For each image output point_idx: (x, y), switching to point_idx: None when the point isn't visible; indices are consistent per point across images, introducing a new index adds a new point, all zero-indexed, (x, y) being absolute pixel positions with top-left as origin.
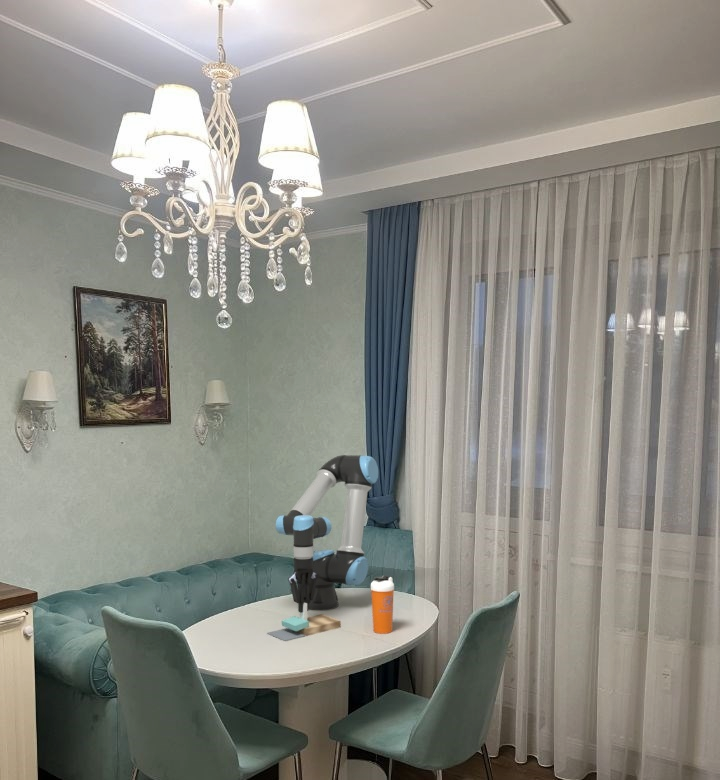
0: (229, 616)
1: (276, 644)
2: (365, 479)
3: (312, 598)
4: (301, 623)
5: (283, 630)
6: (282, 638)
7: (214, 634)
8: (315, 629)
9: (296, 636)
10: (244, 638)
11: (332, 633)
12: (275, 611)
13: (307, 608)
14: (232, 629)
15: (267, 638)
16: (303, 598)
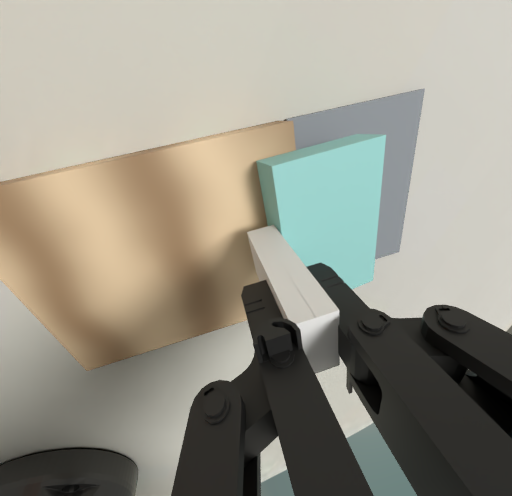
0: (365, 414)
1: (480, 61)
2: None
3: (207, 409)
4: (335, 152)
5: None
6: (410, 134)
7: (492, 299)
8: (210, 137)
9: (339, 126)
10: (481, 229)
11: (77, 66)
12: None
13: (257, 299)
14: None
15: (435, 187)
16: (393, 379)
